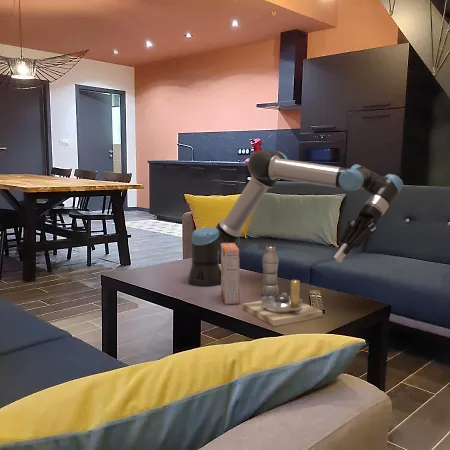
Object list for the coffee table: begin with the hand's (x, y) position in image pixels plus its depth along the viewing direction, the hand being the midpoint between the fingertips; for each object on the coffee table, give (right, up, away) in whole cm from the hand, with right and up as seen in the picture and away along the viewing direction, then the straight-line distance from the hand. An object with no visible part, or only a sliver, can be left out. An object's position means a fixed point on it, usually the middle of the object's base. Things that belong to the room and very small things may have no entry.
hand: (337, 259), depth 167 cm
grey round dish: (-19, -16, -2) cm, 25 cm away
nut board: (-20, -19, 0) cm, 27 cm away
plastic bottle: (-22, -16, +20) cm, 33 cm away
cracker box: (-38, -17, +16) cm, 44 cm away
